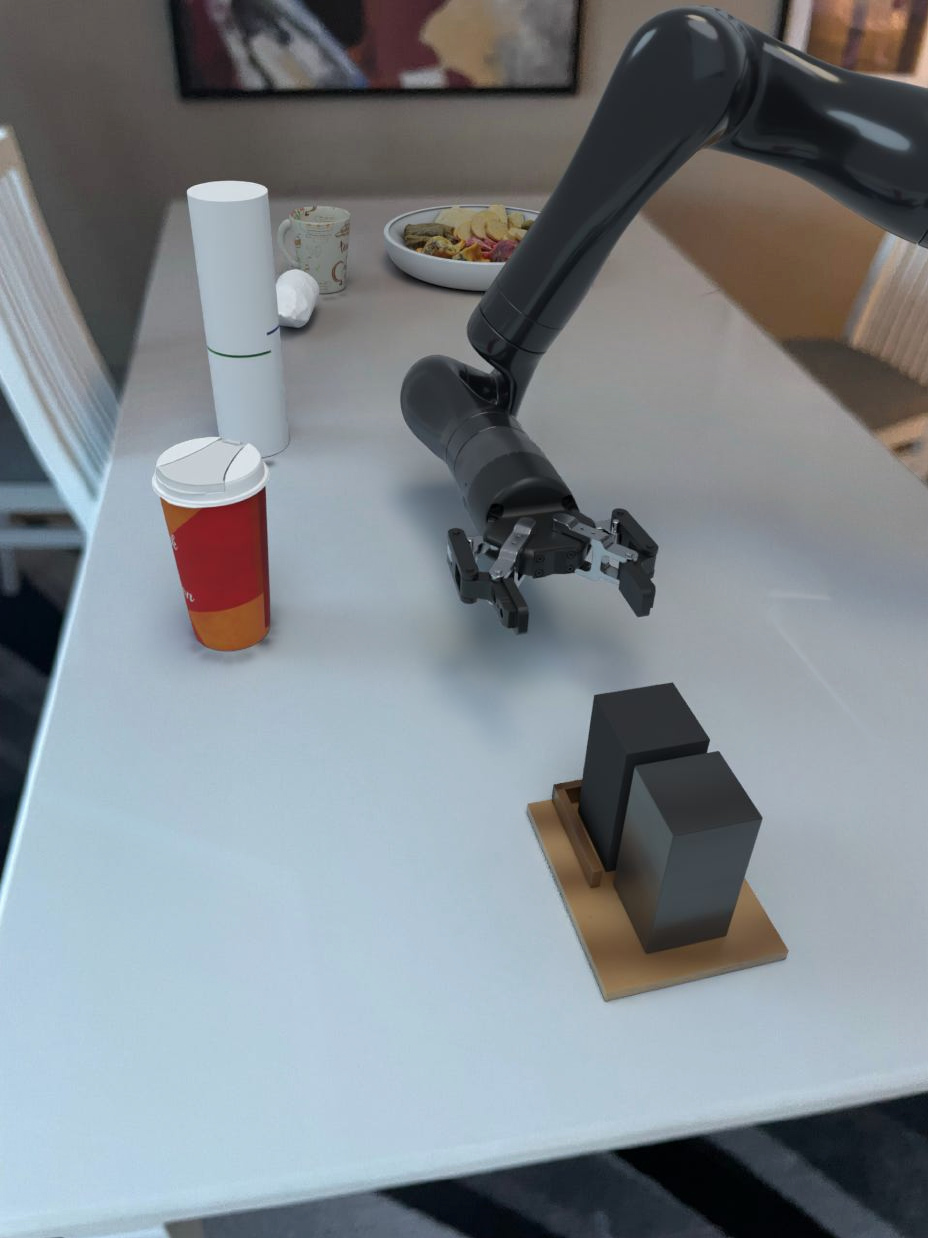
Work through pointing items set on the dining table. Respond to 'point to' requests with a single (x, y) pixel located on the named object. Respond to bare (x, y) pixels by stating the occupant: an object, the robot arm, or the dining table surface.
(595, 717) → the black rectangular block
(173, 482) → the coffee cup
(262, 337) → the cylindrical container
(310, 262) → the mug
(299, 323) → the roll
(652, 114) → the robot arm
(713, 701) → the dining table surface
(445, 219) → the bowl
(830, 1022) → the dining table surface
